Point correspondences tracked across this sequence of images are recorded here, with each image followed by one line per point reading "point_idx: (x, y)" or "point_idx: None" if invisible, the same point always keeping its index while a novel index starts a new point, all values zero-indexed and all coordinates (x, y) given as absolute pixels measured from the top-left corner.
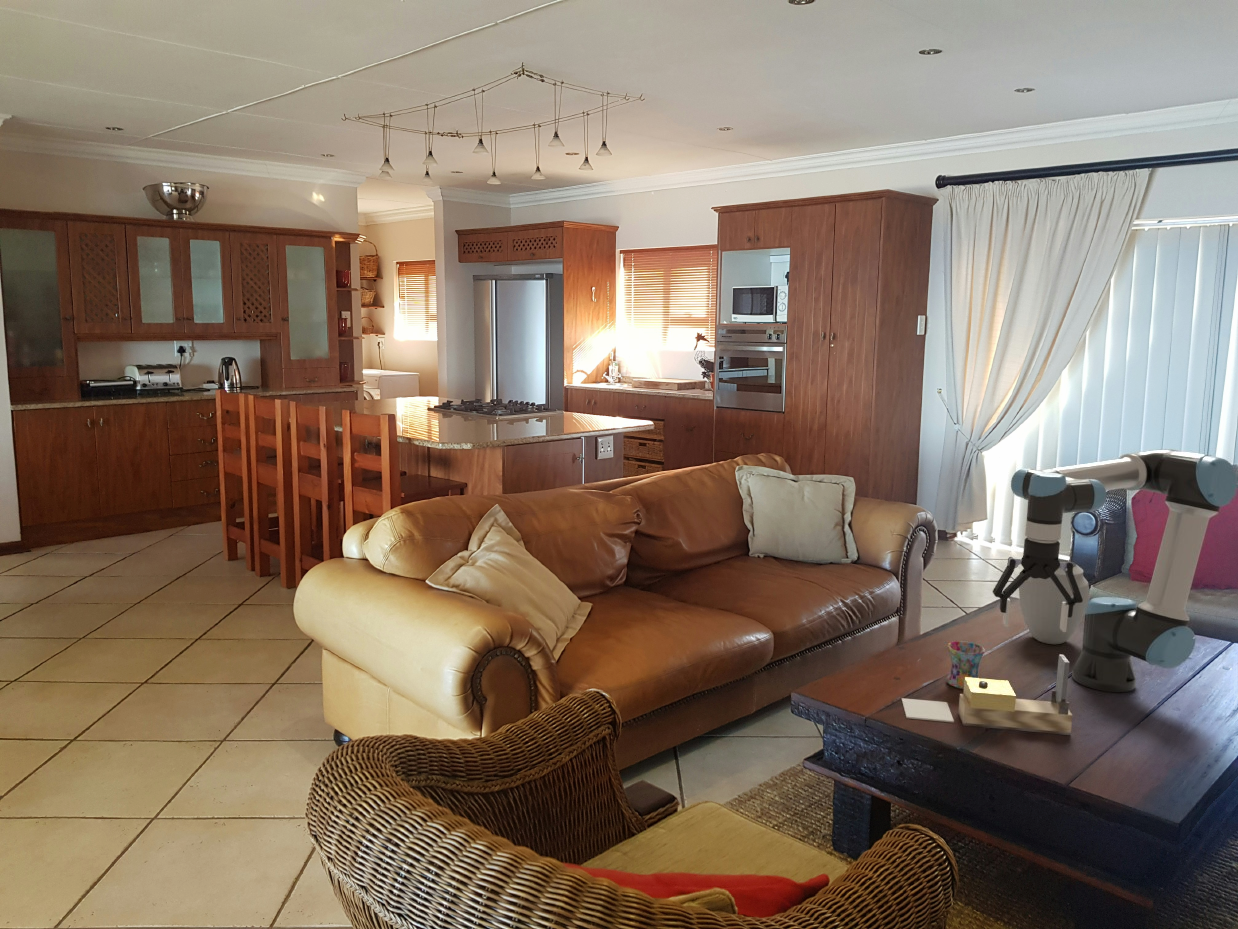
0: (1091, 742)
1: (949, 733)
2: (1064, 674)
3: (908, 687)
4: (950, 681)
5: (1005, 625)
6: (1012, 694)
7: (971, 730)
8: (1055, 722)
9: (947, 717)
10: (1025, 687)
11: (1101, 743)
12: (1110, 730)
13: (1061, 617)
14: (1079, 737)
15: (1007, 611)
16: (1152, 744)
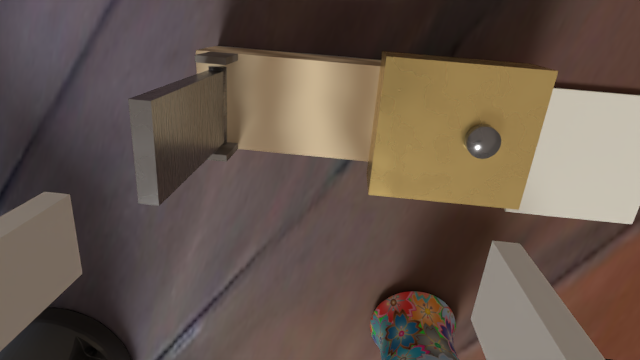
0: (170, 5)
1: (586, 3)
2: (175, 89)
3: (569, 298)
4: (453, 320)
5: (523, 253)
6: (396, 66)
7: (503, 37)
8: (252, 52)
9: (549, 109)
10: (256, 320)
11: (144, 2)
12: (103, 95)
13: (7, 317)
14: (196, 35)
15: (589, 349)
16: (10, 18)
